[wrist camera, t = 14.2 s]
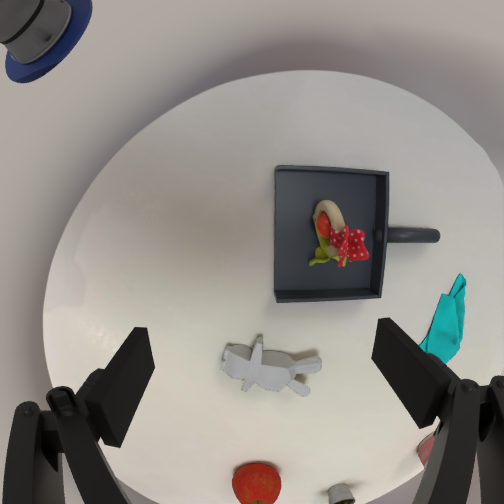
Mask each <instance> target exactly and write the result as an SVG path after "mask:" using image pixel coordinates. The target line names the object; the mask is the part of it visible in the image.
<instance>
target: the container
mask: <svg viewBox="0 0 504 504" xmlns="http://www.w3.org/2000/svg"><path fill="white" fill-rule="evenodd" d="M433 434H434V433H432V434H430V435H429V436H427V437H426V438H425V439H424V440H423V441H422V442H421V443H420V445H419V450H418V456H419V458H420V460H421V462H422V464H423V466H424V470H425V469H426V466H427V463H428V459H429V456H430V453H431V449H432V446H433V442H434V439H435V436H433Z"/></svg>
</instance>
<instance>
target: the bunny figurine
mask: <svg viewBox="0 0 504 504" xmlns="http://www.w3.org/2000/svg"><path fill="white" fill-rule="evenodd" d="M321 367H322V360H321V358H319V357H311V358H307V359H303V360H299V361H294V360H293V359H292V358H291V357H290V356H289V355H288V354H285V353H282V352H278V351H264V352H263V338H262V337H258V338H257V340H256V342H255V344H254V347H253V349H252V350H251V349H250V348H249V347H247V346H245V345H243V344H241V345H233V346H228V345H227V347H226V350H225V353H224V357H223V361H222V364H221V368H220V370H223V371H224V372H225V373H226V374H227V375H228V376H230V377H231V378H233V379H237V380H239V379H244V380H243V385H242V390H243V391H245V392H247V390H248V389H249V388H250V387H251V386H252V385H253V384H254V383H255V384H257V385H258V386H259V387H261V388H263V389H266V390H269V391H273V392H279V391H280V390H281V389H283V388H284V387H285V386H286V385H287V386H288V387H289V388H290V389H292V390H293V391H294V392H296V393H297V394H299V395H300V396H302V397H305V396H308V395H309V394H310V388H309V387H308V386H306V385H304V384H302V383H300V382H298V381H296V380H294V378H295V376H296V374H303V373H316V372H318V371H320V370H321Z"/></svg>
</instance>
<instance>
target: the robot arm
mask: <svg viewBox="0 0 504 504" xmlns="http://www.w3.org/2000/svg"><path fill="white" fill-rule="evenodd" d="M72 18H73V9H72V7H71V6H70V5H69V4H68V3H67V2H66V1H64V0H0V43H2V44H4V45H5V47H6V48H7V49H8V50H9V52H10V53H11V54H12V56H11V57H12V58H13V59H14V61H15V60H16V61H17V62H19V63H21V64H24V65H29V64H32V63H35V62H37V61H39V60H40V59H42V58H43V57H44V56H46V55H47V54H48V53H49V52H50V51H51V50H52V49H53V48H54V47H55V46H56V45H57V44H58V43H59V42H60V40H61V39H62V38H63V36H64V35H65V33H66V32H67V30H68V28H69V26H70V24H71V22H72ZM11 54H10V55H11ZM371 359H372V360H373V361H374V363H375V364H376V366H377V367H378V369H379V370H380V371H381V373H382V374H383V376H384V377H385V379H386V380H387V381H388V383H389V384H390V386H391V387H392V389H393V390H394V392H395V393H396V395H397V396H398V397H399V399H400V400H401V402H402V403H403V405H404V406H405V408H406V409H407V411H408V412H409V414H410V415H411V417H412V418H413V420H414V421H415V423H416V424H417V426H418V427H419V429H421V428H424V427H427V426H430V425H432V424H433V422H434V420H435V418H436V416H438V417H439V419H440V422H439V424H438V426H437V428H436V430H435V432H434V434H433V436H435V439H434V442H433V446H432V449H431V453H430V456H429V459H428V463H427V466H426V469H425V472H424V474H423V477H422V480H421V483H420V486H419V488H418V491H417V493H416V496H415V498H414V501H413V503H412V504H466V501H467V497H468V493H469V488H470V484H471V479H472V473H473V468H474V462H475V455H476V452H477V459H478V467H479V477H480V488H481V504H504V376H499V375H498V376H494V377H493V378H492V380H491V382H490V384H489V385H486V386H479V385H478V384H477V383H476V382H475V381H473V380H470V379H462V380H461V379H460V378H459V377H458V376H457V375H456V374H455V373H454V372H453V371H452V370H451V369H450V368H449V367H447V365H446V364H445V363H443V361H442V360H441V359H440V358H439V357H438V356H436V355H434V354H432V353H426V352H425V351H424V350H423V349H422V348H421V347H420V346H418V345H417V344H416V343H415V342H414V341H413V340H412V339H411V338H410V337H409V336H408V335H407V334H406V333H405V332H404V331H403V330H402V329H401V328H400V327H399V326H398V325H397V324H396V323H395V322H394V321H393V320H392V319H391V318H390V317H389V318H381V319H378V324H377V330H376V336H375V342H374V347H373V352H372V357H371ZM154 369H155V365H154V361H153V356H152V351H151V346H150V341H149V336H148V330H147V328H144V327H134V329H133V330H132V331H131V333H130V334H129V336H128V337H127V338H126V340H125V341H124V343H123V344H122V345H121V347H120V348H119V350H118V351H117V352H116V354H115V355H114V357H113V358H112V359H111V361H110V362H109V364H108V365H107V367H106V368H105V369H99V368H98V369H97V370H95V371H94V372H92V373H91V374H90V375H89V377H88V378H87V379H86V381H85V382H84V383H83V386H81V388H80V389H79V390H78V392H77V393H76V394H74V392H73V390H72V389H71V388H69V387H65V386H60V387H56V388H53V389H52V390H50V391H49V392H48V393H47V395H46V400H47V402H48V404H49V406H50V408H51V410H52V411H42V410H40V408H39V406H38V405H37V403H35V402H31V401H27V402H23V403H21V404H20V405H18V406H17V408H16V410H15V414H14V418H13V422H12V427H11V432H10V437H9V443H8V449H7V457H6V463H5V473H4V482H3V483H4V484H3V499H2V504H65V497H64V485H63V469H62V453H65V456H66V459H67V462H68V464H69V467H70V470H71V472H72V475H73V478H74V480H75V483H76V485H77V488H78V490H79V492H80V494H81V496H82V499H83V501H84V503H85V504H132V503H131V502H130V500H129V498H128V497H127V495H126V493H125V492H124V490H123V489H122V487H121V485H120V484H119V482H118V480H117V478H116V477H115V475H114V473H113V471H112V469H111V467H110V466H109V464H108V462H107V460H106V458H105V456H104V454H103V452H102V450H101V448H100V446H99V444H98V441H99V439H100V437H101V438H102V440H103V442H104V444H105V445H108V446H113V447H118V448H120V447H121V445H122V443H123V440H124V438H125V435H126V433H127V431H128V428H129V426H130V424H131V421H132V419H133V416H134V414H135V412H136V410H137V407H138V405H139V403H140V400H141V398H142V396H143V394H144V391H145V389H146V387H147V385H148V382H149V380H150V378H151V376H152V373H153V371H154Z"/></svg>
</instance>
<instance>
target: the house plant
mask: <svg viewBox="0 0 504 504" xmlns="http://www.w3.org/2000/svg"><path fill="white" fill-rule="evenodd" d="M354 503H355V499H354V497H353V495H352V493H351V492H350V490H349V488H348V486H347V485H346V484H338V485H335V486H332V487H331V488H330V489H329V504H354Z"/></svg>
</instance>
